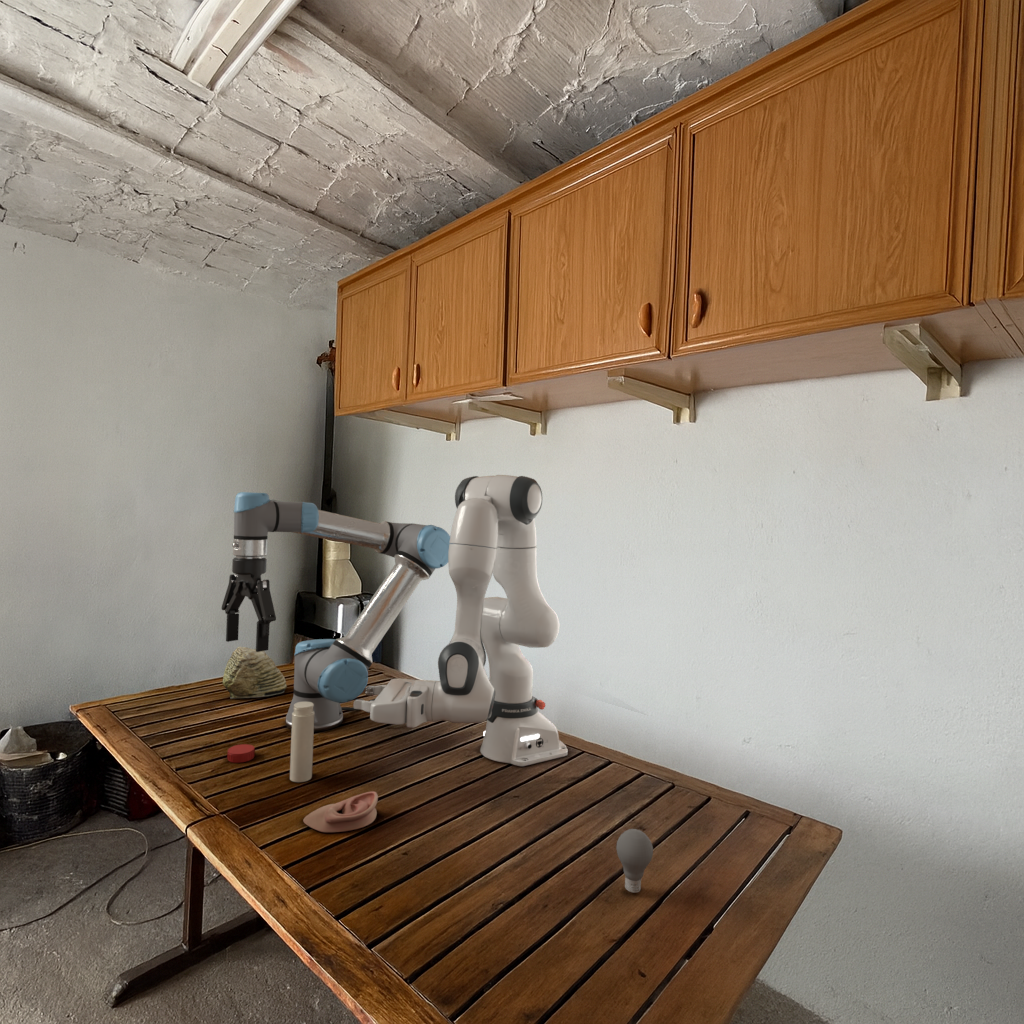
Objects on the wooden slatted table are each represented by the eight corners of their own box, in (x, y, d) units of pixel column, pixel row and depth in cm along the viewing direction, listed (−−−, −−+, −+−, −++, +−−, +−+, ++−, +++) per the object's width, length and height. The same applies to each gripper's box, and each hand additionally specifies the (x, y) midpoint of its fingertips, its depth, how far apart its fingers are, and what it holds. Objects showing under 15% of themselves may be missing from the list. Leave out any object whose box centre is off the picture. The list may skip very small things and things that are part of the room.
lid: (259, 756, 153) (260, 747, 153) (238, 765, 147) (239, 756, 147) (242, 750, 155) (243, 742, 155) (221, 759, 150) (221, 750, 150)
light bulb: (610, 879, 108) (613, 822, 108) (644, 879, 109) (647, 822, 109) (619, 902, 102) (622, 840, 102) (655, 901, 103) (658, 840, 103)
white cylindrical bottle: (291, 783, 139) (293, 708, 139) (288, 774, 143) (290, 702, 143) (313, 780, 141) (316, 706, 141) (310, 771, 146) (312, 700, 145)
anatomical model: (295, 807, 120) (325, 781, 132) (294, 828, 121) (324, 800, 132) (360, 817, 118) (384, 790, 129) (359, 838, 118) (384, 809, 129)
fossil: (218, 695, 195) (220, 647, 195) (278, 685, 208) (279, 640, 207) (228, 703, 189) (230, 653, 188) (289, 692, 201) (290, 645, 201)
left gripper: (208, 553, 156) (205, 638, 156) (263, 562, 140) (260, 658, 141) (237, 551, 161) (234, 634, 162) (293, 561, 146) (290, 652, 146)
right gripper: (430, 673, 151) (373, 670, 152) (413, 700, 131) (347, 696, 131) (429, 699, 151) (372, 696, 152) (412, 730, 131) (346, 727, 132)
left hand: (246, 645), depth 151 cm, fingers open, 13 cm apart
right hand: (360, 696), depth 142 cm, fingers open, 8 cm apart
